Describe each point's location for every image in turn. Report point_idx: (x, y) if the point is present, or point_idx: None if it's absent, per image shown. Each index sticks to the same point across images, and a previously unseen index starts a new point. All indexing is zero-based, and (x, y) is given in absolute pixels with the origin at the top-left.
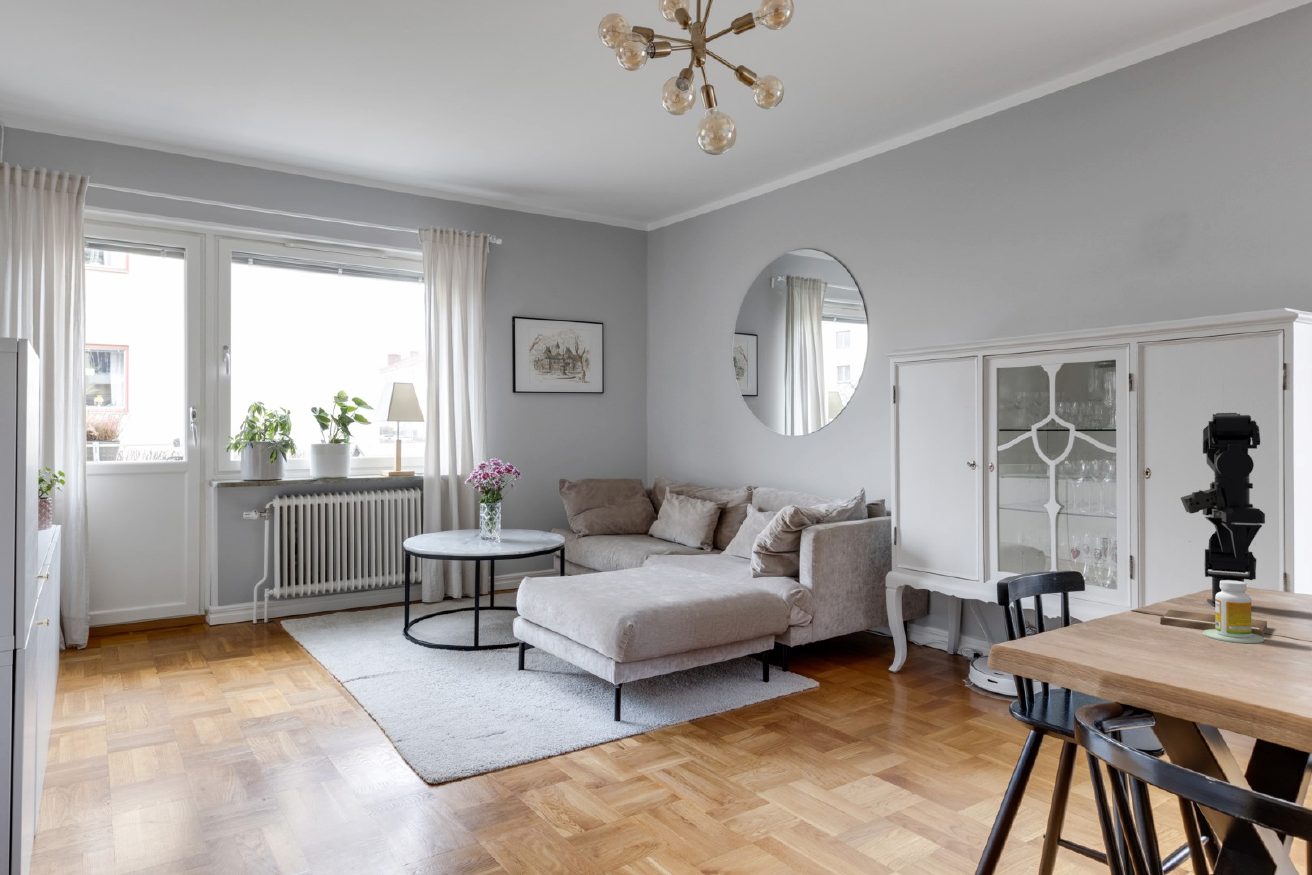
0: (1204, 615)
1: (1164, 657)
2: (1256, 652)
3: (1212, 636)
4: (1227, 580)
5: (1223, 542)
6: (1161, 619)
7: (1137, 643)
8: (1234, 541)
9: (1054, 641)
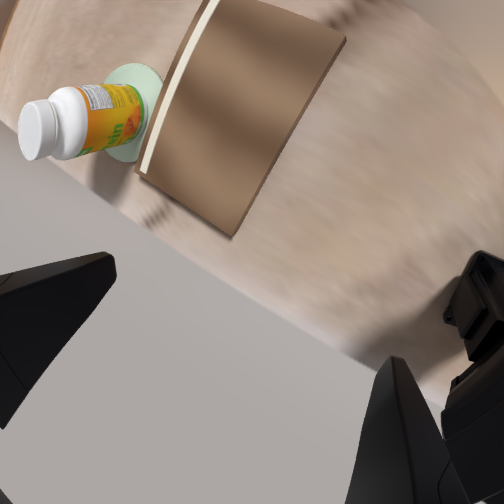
0: (270, 102)
1: (42, 20)
2: None
3: (110, 74)
4: (37, 124)
5: (389, 417)
6: None
7: None
8: (10, 275)
9: None
